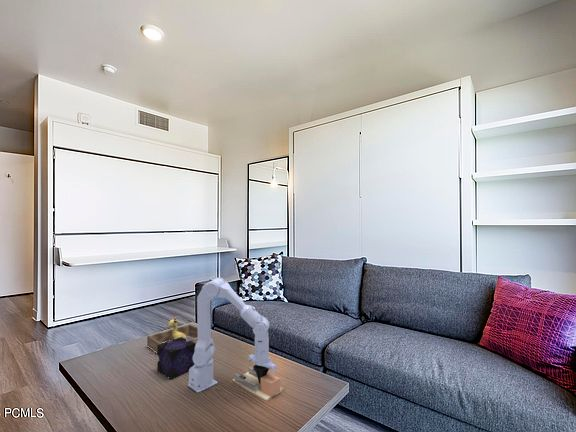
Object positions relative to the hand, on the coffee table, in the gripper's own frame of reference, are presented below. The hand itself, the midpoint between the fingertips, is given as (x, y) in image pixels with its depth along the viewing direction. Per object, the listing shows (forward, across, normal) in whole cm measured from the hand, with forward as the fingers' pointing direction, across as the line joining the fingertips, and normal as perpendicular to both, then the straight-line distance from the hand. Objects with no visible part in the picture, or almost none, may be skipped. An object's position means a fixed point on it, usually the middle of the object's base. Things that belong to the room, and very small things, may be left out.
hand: (262, 382), depth 121 cm
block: (+2, -5, 0) cm, 5 cm away
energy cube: (+2, +40, +16) cm, 43 cm away
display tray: (+2, +64, +2) cm, 64 cm away
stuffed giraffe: (+2, +64, +2) cm, 64 cm away
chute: (+2, +3, 0) cm, 3 cm away
